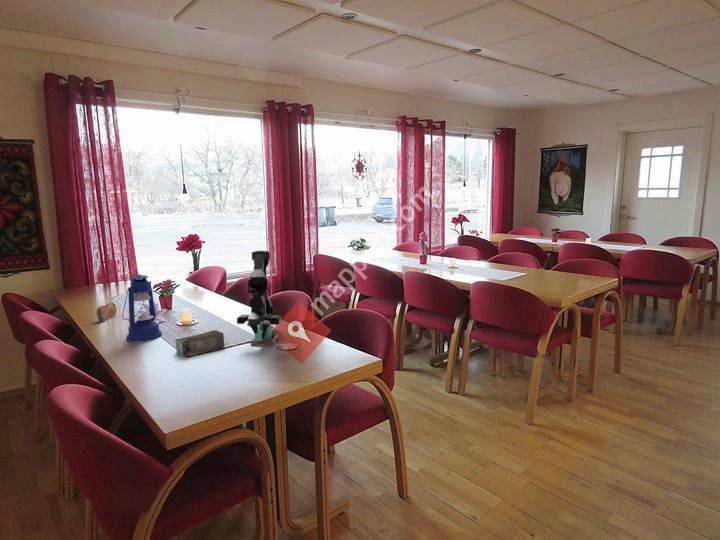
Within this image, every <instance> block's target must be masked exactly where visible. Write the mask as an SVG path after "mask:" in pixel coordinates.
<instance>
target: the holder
mask: <svg viewBox="0 0 720 540" xmlns="http://www.w3.org/2000/svg"><path fill="white" fill-rule="evenodd" d="M278 338H280V335H279V334H272V341H264V340H261V341H256V340H255V336H253V338H252V339H251V340H250V345H251V346H270V345H273V346H274V345H275V344H276V343H277V342H278V340H279V339H278ZM277 339H278V340H277ZM275 342H276V343H275ZM274 343H275V344H274Z"/></svg>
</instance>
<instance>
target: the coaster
mask: <svg viewBox="0 0 720 540" xmlns="http://www.w3.org/2000/svg"><path fill="white" fill-rule="evenodd" d="M288 343H289V342H288ZM284 344H285V343H280V344H278V345H277V346H276V349H277V348H278V349H280V350H279V351H281V350H285V348H286V347H283V346H284ZM280 345H281V346H280ZM287 347H289V348H288V349H289V350H290V343H289V346H287ZM278 349H277V350H278ZM286 350H287V349H286ZM290 351H291V350H290Z"/></svg>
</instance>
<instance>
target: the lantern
mask: <svg viewBox="0 0 720 540" xmlns="http://www.w3.org/2000/svg"><path fill="white" fill-rule="evenodd" d="M148 278H149V276H148V275H146V274H145V275H144V274H137V275H134V276H131V277H129V279H130V280H131V282H130V287H128V288H127V290H126V291H127V292H126V297H125V301H124V307H123V310H122V320H123V321H125V320H128V322H129V326H128V333H127V335H126V340H127V341H128V340H129V341H128V342H132V341H142V342H147V341H148V340H149V341H153V340H156V339H159V338H161V337H162V336H161V335H162V331H161V330H160V326H159V323H157V322H155V321H154V320H155V313H156V312H155V308H154V302H155V301H154V294H153V288H152V281H149V280H148ZM127 298H128V317H129V318H124V311H125V307H126V304H127ZM145 301H148V306H149V307H150V308H149V311H150V315H145V314H140V311H142V310H143V309H144V306H143V304H145ZM135 302H139V304H140V305H141V308H140V309H139V310H137V311H136V314H135ZM140 302H142V303H140ZM145 307H146V306H145ZM137 312H138V313H137ZM139 314H140V315H139ZM160 336H161V337H160Z"/></svg>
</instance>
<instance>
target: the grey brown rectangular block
mask: <svg viewBox="0 0 720 540" xmlns="http://www.w3.org/2000/svg"><path fill="white" fill-rule="evenodd" d="M174 341H175V349H176V353H178V354H179V355H181V356H183V357H187V356H190V354H191V355H194V353H195V354H198V352H199V353H202V351H203V352H205V351H210V350H213V349H217V347H218V348H221V346H222V347H225V337H224V332H221V331H219V330H216V329H215V330H211V331H206V332H202V333H199V334H195V335H190V336H186V337H182V338H177V339H175V340H174Z"/></svg>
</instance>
